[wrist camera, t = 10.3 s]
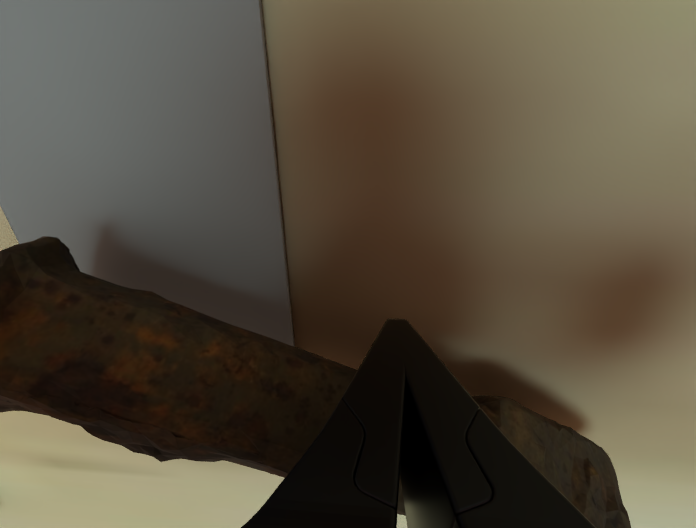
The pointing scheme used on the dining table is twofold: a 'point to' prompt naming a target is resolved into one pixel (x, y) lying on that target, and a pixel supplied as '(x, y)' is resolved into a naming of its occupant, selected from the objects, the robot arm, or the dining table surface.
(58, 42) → the mat
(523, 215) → the dining table surface
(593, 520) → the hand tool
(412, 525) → the robot arm
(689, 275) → the dining table surface
